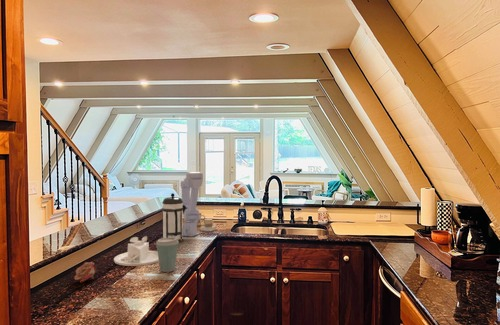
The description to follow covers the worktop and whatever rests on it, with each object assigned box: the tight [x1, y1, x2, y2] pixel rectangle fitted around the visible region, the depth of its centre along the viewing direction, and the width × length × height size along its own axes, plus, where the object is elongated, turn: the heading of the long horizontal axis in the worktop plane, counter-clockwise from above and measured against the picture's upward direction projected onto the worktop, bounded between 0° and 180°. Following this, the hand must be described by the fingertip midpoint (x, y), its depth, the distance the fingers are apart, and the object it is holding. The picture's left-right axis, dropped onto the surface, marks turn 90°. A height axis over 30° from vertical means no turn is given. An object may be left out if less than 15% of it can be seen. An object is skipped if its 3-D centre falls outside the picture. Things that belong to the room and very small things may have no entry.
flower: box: [73, 261, 97, 284], centre depth 163 cm, size 10×9×8 cm
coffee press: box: [161, 193, 184, 243], centre depth 232 cm, size 17×16×30 cm
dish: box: [113, 235, 159, 267], centre depth 196 cm, size 25×25×11 cm
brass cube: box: [203, 218, 214, 227], centre depth 266 cm, size 5×5×5 cm
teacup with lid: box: [197, 211, 206, 227], centre depth 285 cm, size 12×9×12 cm
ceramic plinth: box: [200, 225, 217, 232], centre depth 266 cm, size 8×8×3 cm
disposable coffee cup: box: [155, 237, 180, 273], centre depth 177 cm, size 11×11×15 cm
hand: (185, 216), depth 265 cm, fingers open, 7 cm apart
